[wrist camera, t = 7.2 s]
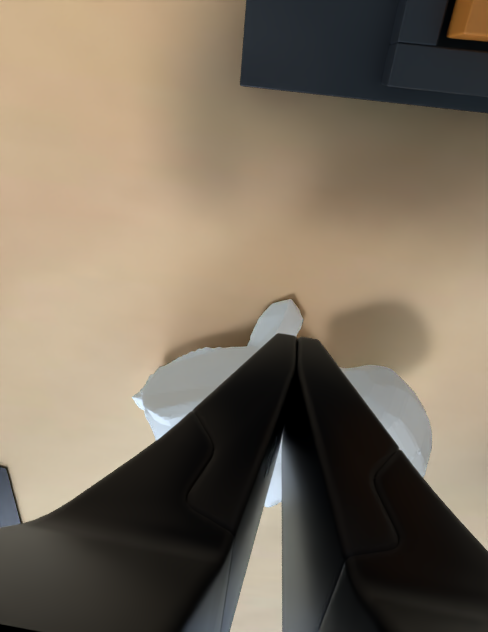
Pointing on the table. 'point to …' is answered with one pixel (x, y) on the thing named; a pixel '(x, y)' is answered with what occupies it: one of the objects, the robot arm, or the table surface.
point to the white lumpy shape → (215, 367)
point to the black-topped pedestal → (7, 502)
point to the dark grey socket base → (364, 52)
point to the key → (469, 21)
